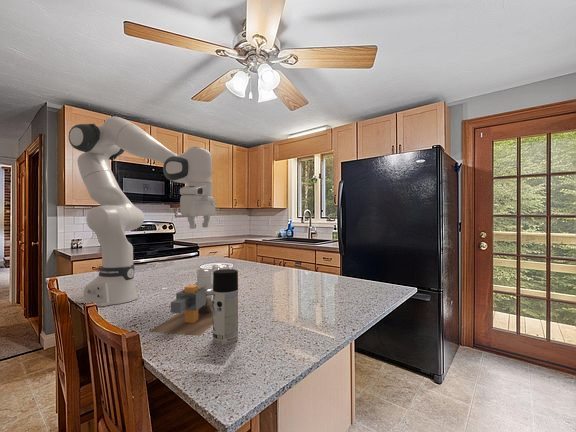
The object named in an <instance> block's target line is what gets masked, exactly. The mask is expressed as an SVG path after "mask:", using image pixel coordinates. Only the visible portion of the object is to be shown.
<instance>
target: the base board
mask: <svg viewBox="0 0 576 432" xmlns="http://www.w3.org/2000/svg"><path fill="white" fill-rule="evenodd" d="M211 327H213V304H212V311H211V312H210V313H207V314H199V313H198V320H197V321H196V322H194V323H188V322H185V311H183V312H182V313H175V315H173V316H172V317H170V318H168V319H167V320H165V321H164V322H162V323H160V324H159V325H157V326H155V327H154V328H152V329H150V330H149V331H148V332H149V333H160V334H161V333H162V334H174V335H185V336H187V335H188V336H199V337H200V336H202V335H203V334H204V333H205V332H206V331H207V330H208V329H210V328H211Z"/></svg>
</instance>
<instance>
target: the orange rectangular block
mask: <svg viewBox="0 0 576 432" xmlns="http://www.w3.org/2000/svg"><path fill="white" fill-rule="evenodd" d="M183 290H185V293H196V292H197V291H198V285H197V284H196V285H195V284H189V285H186V286H185V287H184V289H183ZM197 320H198V310H196V311H194V310H185V322H188V323H194V322H196V321H197Z"/></svg>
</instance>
